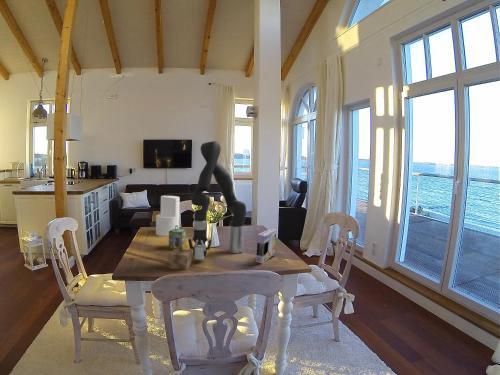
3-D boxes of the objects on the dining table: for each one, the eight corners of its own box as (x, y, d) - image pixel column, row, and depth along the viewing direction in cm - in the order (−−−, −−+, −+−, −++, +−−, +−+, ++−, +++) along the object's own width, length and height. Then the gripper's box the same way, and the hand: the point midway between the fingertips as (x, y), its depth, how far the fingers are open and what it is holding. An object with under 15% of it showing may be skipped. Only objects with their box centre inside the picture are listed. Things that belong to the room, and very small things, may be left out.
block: (204, 256, 192) (205, 245, 191) (203, 259, 187) (203, 247, 186) (196, 256, 192) (196, 244, 191) (194, 258, 187) (194, 247, 186)
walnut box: (191, 263, 185) (191, 250, 184) (186, 269, 175) (187, 255, 174) (174, 262, 186) (174, 248, 185) (168, 268, 176) (168, 254, 175)
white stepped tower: (168, 229, 262) (169, 195, 259) (183, 233, 252) (184, 197, 249) (151, 233, 248) (151, 196, 245) (165, 237, 238) (166, 199, 235)
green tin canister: (181, 249, 210) (182, 227, 208) (168, 248, 211) (168, 226, 209) (186, 245, 219) (186, 224, 218) (172, 244, 220) (173, 223, 218)
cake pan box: (261, 265, 189) (263, 235, 187) (254, 263, 191) (255, 233, 189) (275, 256, 205) (277, 229, 203) (268, 255, 208) (270, 228, 206)
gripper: (213, 226, 191) (213, 254, 193) (189, 225, 192) (189, 253, 193) (211, 229, 183) (210, 259, 185) (186, 228, 184) (186, 257, 186)
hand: (199, 256), depth 189 cm, fingers closed on block, 5 cm apart
